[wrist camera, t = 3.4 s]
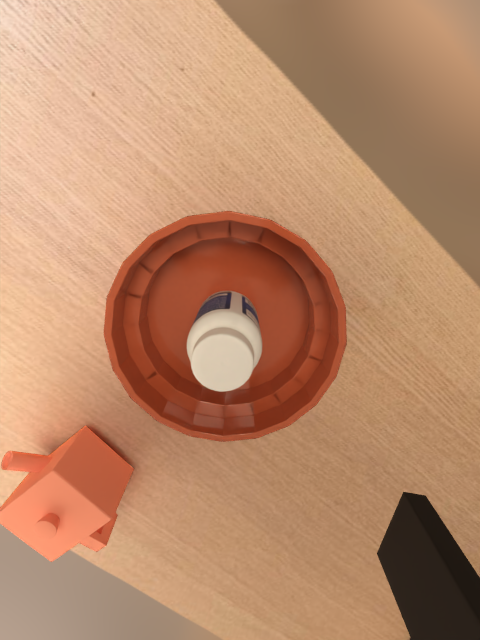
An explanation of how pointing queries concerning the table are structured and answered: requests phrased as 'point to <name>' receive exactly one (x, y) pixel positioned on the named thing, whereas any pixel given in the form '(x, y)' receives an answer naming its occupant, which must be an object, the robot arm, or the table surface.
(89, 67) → the table surface
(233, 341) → the pill bottle
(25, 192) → the table surface
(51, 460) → the pink cube teapot
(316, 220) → the table surface
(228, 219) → the bowl
